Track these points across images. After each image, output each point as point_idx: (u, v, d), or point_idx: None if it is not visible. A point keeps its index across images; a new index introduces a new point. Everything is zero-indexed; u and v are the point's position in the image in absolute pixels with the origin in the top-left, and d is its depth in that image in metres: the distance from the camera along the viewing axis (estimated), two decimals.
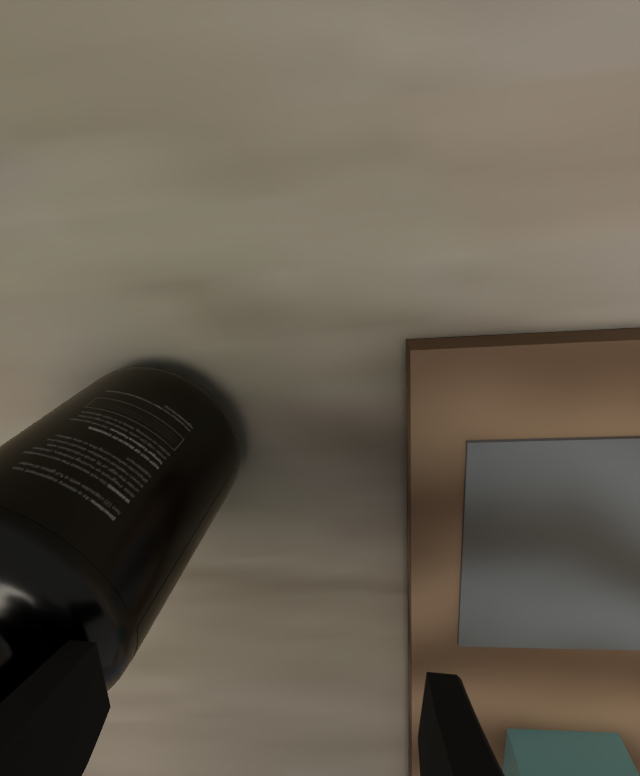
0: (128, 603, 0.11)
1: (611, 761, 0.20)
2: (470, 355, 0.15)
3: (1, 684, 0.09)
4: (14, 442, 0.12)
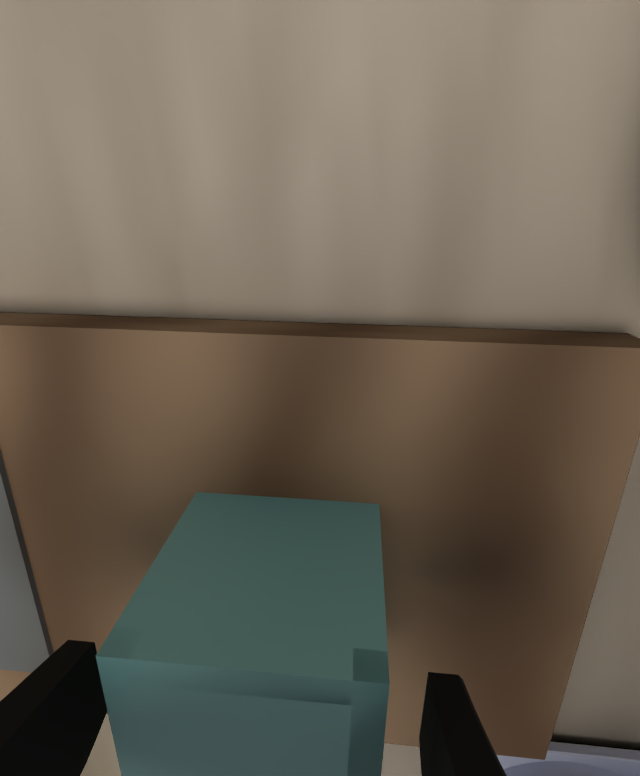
0: None
1: None
2: None
3: None
4: None
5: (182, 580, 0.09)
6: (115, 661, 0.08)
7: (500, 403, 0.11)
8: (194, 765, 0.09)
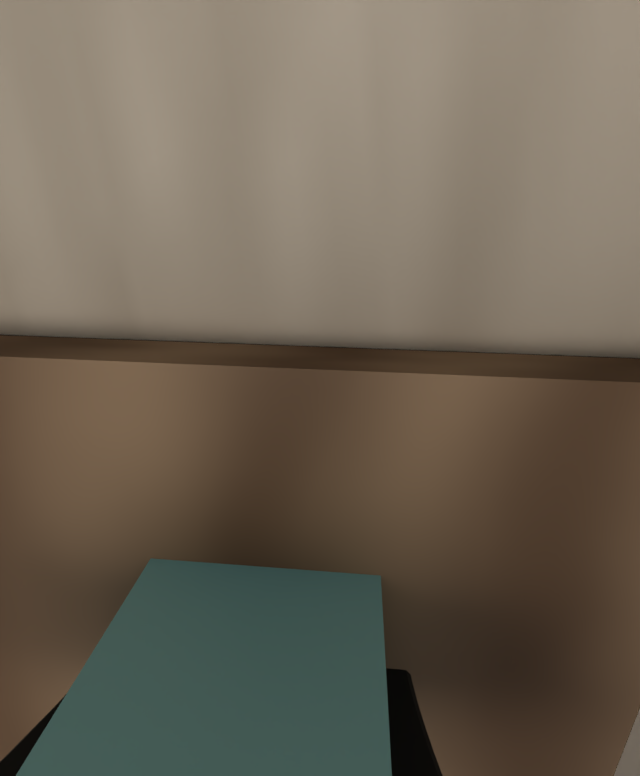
0: None
1: None
2: None
3: None
4: None
5: (111, 710, 0.07)
6: None
7: (539, 455, 0.08)
8: None
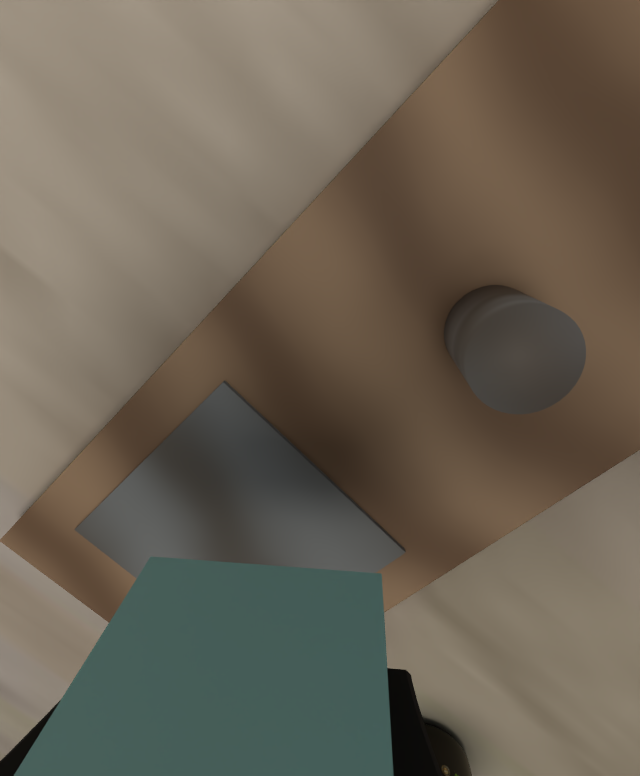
0: None
1: None
2: None
3: None
4: None
5: (111, 708, 0.07)
6: None
7: (519, 59, 0.12)
8: None
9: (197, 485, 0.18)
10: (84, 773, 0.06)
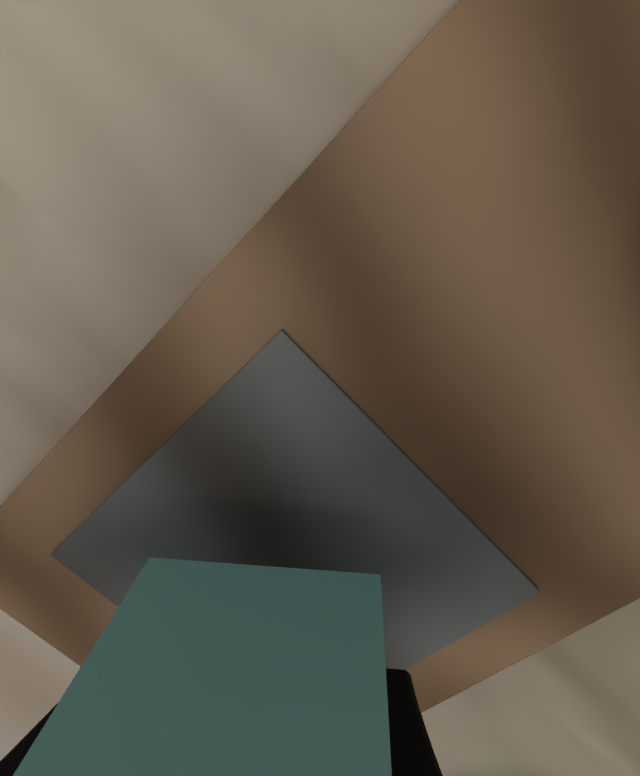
0: None
1: None
2: None
3: None
4: None
5: (109, 710, 0.07)
6: None
7: None
8: None
9: (233, 492, 0.12)
10: (82, 775, 0.06)
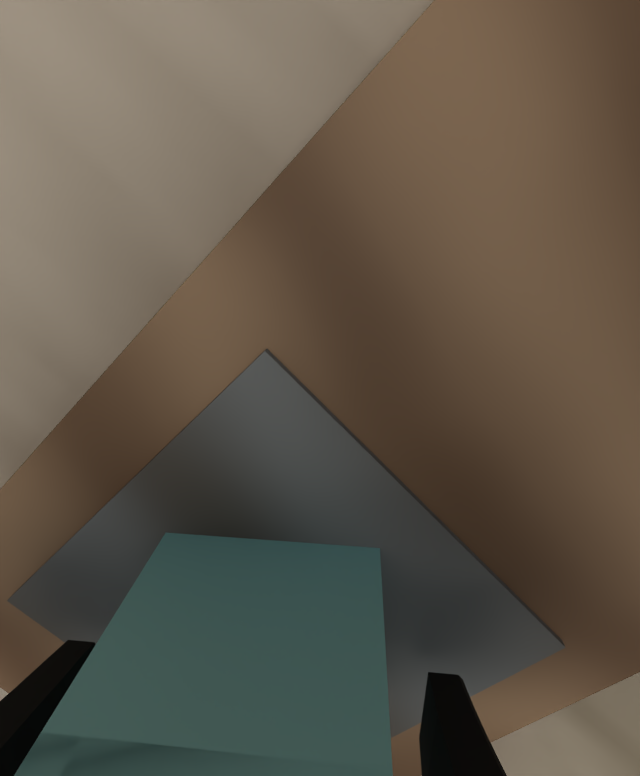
0: None
1: None
2: None
3: None
4: None
5: (136, 659, 0.07)
6: None
7: None
8: None
9: (212, 533, 0.10)
10: (115, 712, 0.07)
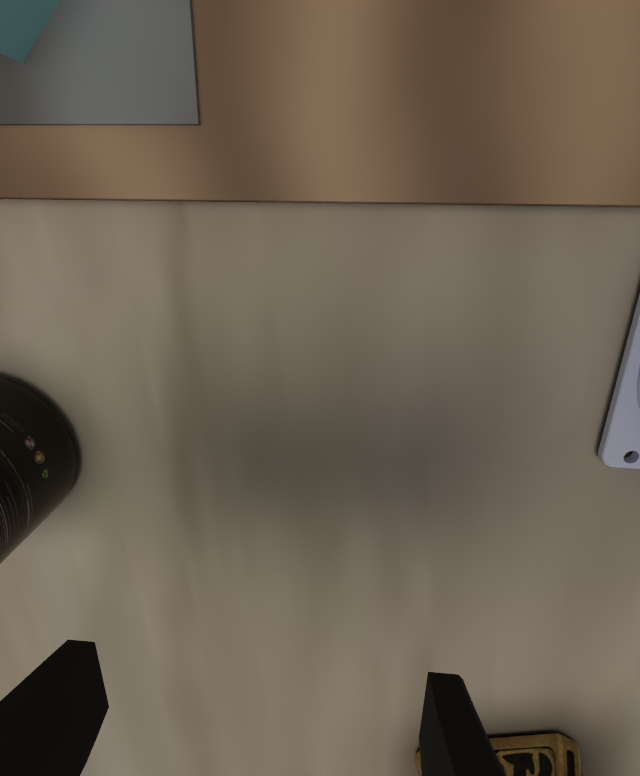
0: None
1: None
2: None
3: None
4: None
5: None
6: None
7: None
8: None
9: None
10: None
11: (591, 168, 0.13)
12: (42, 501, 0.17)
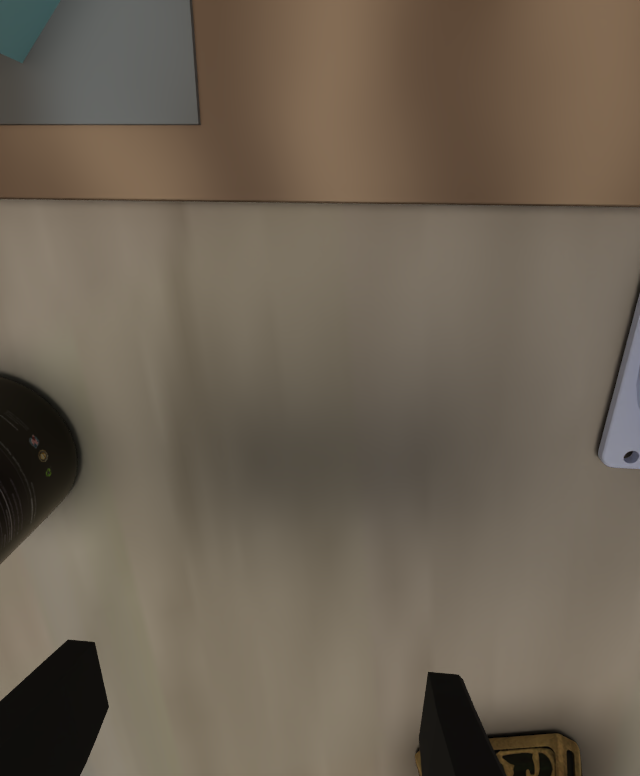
0: None
1: None
2: None
3: None
4: None
5: None
6: None
7: None
8: None
9: None
10: None
11: (591, 168, 0.13)
12: (45, 500, 0.17)
